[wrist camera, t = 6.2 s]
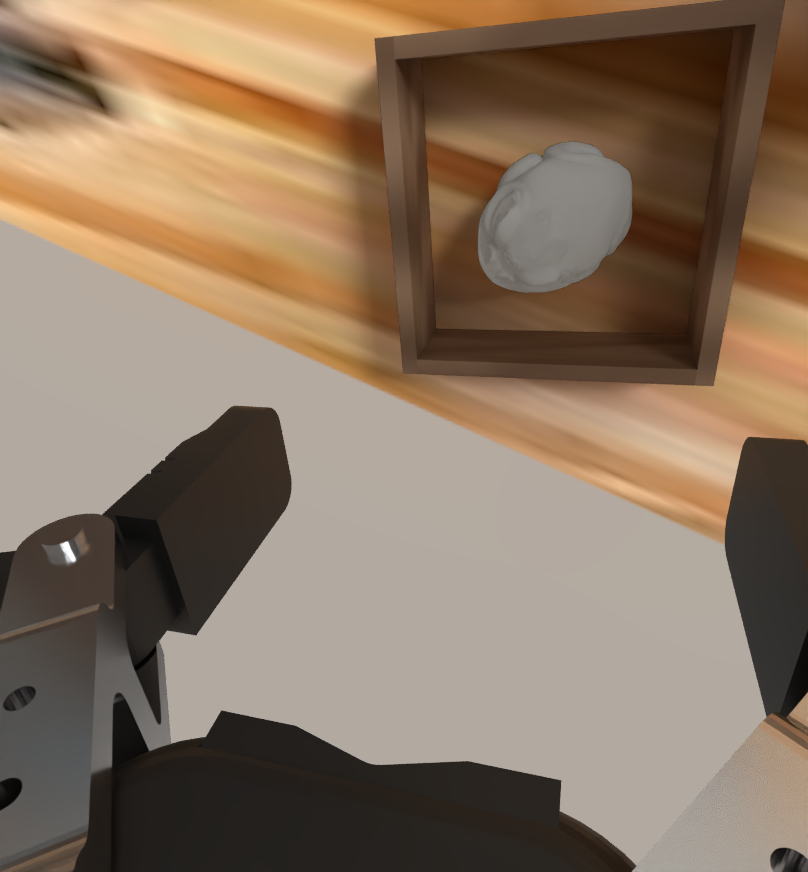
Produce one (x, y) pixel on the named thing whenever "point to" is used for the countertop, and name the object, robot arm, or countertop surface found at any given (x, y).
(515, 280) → the frog figurine
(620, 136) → the countertop surface
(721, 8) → the walnut frame
